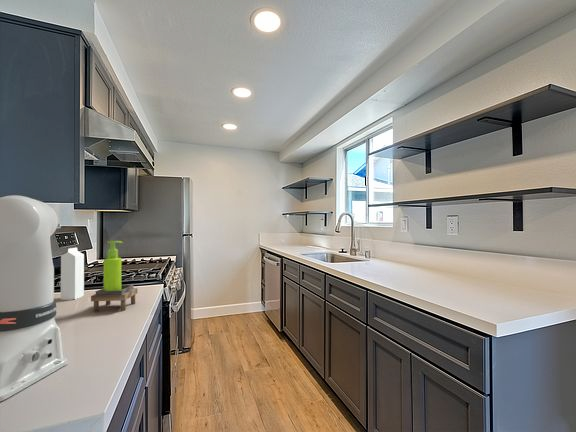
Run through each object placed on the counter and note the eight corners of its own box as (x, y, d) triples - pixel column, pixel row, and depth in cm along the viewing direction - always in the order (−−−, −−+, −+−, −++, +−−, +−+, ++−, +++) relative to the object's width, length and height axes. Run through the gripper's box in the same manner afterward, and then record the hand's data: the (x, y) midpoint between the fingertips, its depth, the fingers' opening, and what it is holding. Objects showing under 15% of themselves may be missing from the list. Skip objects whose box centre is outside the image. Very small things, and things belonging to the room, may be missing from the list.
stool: (124, 311, 108) (125, 290, 108) (90, 312, 107) (90, 291, 107) (137, 302, 119) (137, 284, 119) (106, 303, 118) (106, 285, 118)
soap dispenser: (114, 295, 108) (115, 241, 108) (99, 294, 110) (100, 241, 110) (127, 291, 114) (127, 240, 114) (112, 290, 115) (112, 240, 116)
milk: (83, 296, 131) (84, 247, 131) (74, 299, 125) (75, 248, 125) (69, 296, 130) (70, 247, 131) (60, 300, 124) (60, 248, 125)
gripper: (31, 233, 114) (69, 233, 115) (-18, 236, 94) (28, 236, 95) (31, 217, 114) (69, 217, 115) (-18, 217, 94) (28, 216, 95)
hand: (50, 226), depth 105 cm, fingers open, 8 cm apart
